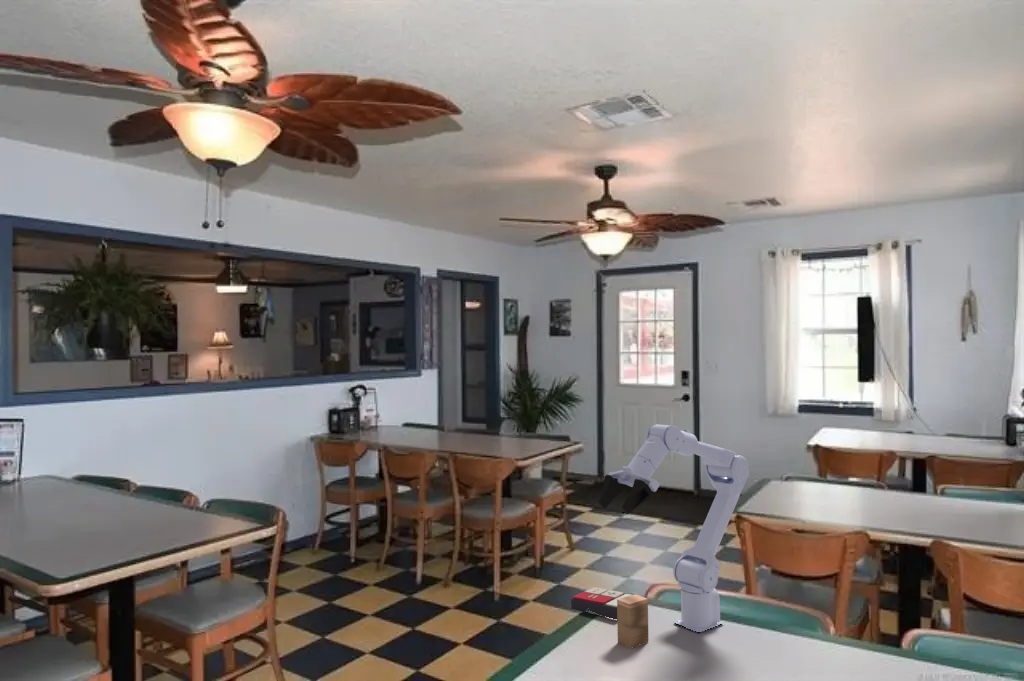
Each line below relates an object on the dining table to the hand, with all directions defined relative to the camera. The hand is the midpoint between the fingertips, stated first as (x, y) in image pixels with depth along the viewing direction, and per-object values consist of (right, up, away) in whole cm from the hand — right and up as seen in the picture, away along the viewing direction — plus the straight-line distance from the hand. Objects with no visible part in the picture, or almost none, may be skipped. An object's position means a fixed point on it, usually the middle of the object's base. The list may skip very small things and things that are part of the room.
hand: (612, 508), depth 156 cm
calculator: (+2, -34, +27) cm, 43 cm away
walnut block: (+5, -32, +5) cm, 33 cm away
